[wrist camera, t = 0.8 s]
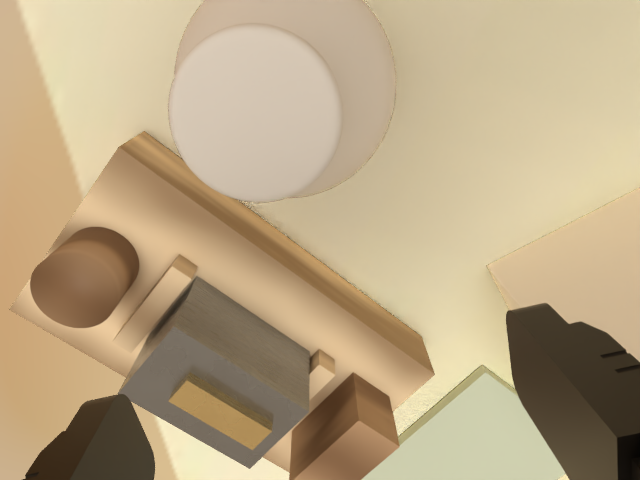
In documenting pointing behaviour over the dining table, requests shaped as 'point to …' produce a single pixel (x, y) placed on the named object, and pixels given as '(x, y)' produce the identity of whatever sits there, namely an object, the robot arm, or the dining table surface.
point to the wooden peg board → (237, 283)
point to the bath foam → (280, 95)
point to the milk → (583, 271)
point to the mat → (472, 439)
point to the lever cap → (221, 375)
